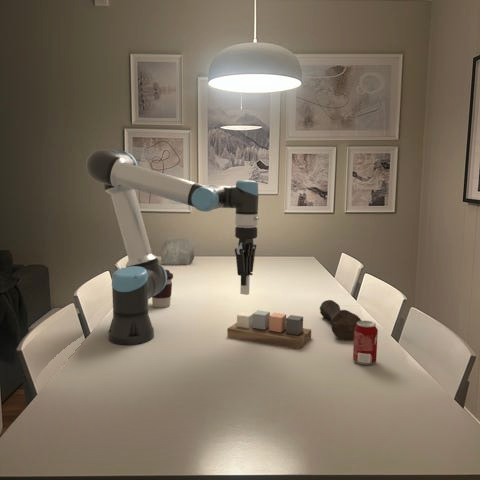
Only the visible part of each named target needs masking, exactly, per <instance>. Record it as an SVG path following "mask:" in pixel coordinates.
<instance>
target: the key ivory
mask: <svg viewBox="0 0 480 480" xmlns="http://www.w3.org/2000/svg"><path fill="white" fill-rule="evenodd" d="M236 323H237V327H244V328H250V327H252V326H253V312H247V311H241V312H240V313H238V314H236Z"/></svg>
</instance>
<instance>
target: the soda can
mask: <svg viewBox="0 0 480 480" xmlns="http://www.w3.org/2000/svg"><path fill="white" fill-rule="evenodd" d="M376 325H377V324H376V323H375V322H374V321H372V320H371V321H370V320H362V321H358V322H357V325H356V326H355V328H354V340H353V348H352V350H353V353H352V354H353V355H352V360H353V361H354V362H355V363H356V364H358V365H361V366H371V365H374V364H376V363H377V357H378V356H377V354H378V353H377V352H378V333H379V331H378V328H377V326H376Z"/></svg>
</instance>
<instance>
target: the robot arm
mask: <svg viewBox="0 0 480 480" xmlns="http://www.w3.org/2000/svg"><path fill="white" fill-rule="evenodd" d="M85 163H86V164H85V169H86V172H87V175H88V177H90V178H91V179H92V181H94V182H96V183H98V184H102V185H103V187H104V191H105V193H106V194H108V195H110V196H111V197H110V198H111V200H112V204H113V208H114V211H115V215H116V218H117V222H118V226H119V230H120V233H121V237H122V240H123V244H124V248H125V252H126V254H127V258H128V261H127V262H126V264H125V267H120V268H118V269H117V270H115V271H114V272H113V274H112V277H111V278H112V279H111V288H112V289H111V291H112V292H111V293H112V296H111V297H112V318H111V319H112V320H111V323H110V326H109V330H108V333H107V334H108V340H109V342H111V343H113V344H117V345H124V346H126V345H139V344H143V343H147V342H149V341H151V340H152V339H153V338H154V337H155V329H154V327H153V324H152V321H151V318H150V315H149V300H150V299H152V297H153V296H155V295H157V294H159V293H160V292H161V291H162V290H163V288H164V287H165V285H166V283H167V273H166V271H165V269H166V268H165V267H164V266H163V265H161V264H160V262H159V259H158V258H159V257H158V256H156V255H155V254H153V253H152V248H151V245H150V241H149V237H148V234H147V230H146V227H145V226H146V225H145V223H144V220H143V219H144V218H143V215H142V212H141V208H140V203H139V200H138V197H137V193H136V191H139V192H143V193H145V194H146V193H147V194H150V195H153V196H157V197H160V198H163V199H166V200H171V201H172V202H177V203H181V204H184V205H187V206H190V207H193V208H195V209H196V210H197V211H200V212H206V213H207V212H210V211H214V210H216V209H235V220H234V222H235V226H236V227H234V229H235V230H234V232H235V233H234V234H235V235H234V237H235V238H236V239H238V245H237V246H238V247H236V248H234V254H235V258H236V260H235V261H236V271H237V276H240V290H239V291H240V293H239V294H241V295H245V296H246V295H247V296H248V295H250V279H251V278H250V276H253V272H254V264H255V255H256V249H257V244H254V239H257V238H258V227H257V226H258V220H259V217H258V216H259V215H258V214H259V213H258V212H259V196H260V195H259V183H258V181H256V180H247V179H246V180H240V179H239V180H236V183H235V185H231V186H230V185H215V184H207V185H205V184H201V183H197V182H194V181H190V180H187V179H184V178H181V177H177V176H173V175H170V174H166V173H162V172H159V171H156V170H152V169H149V168H145V167H142V166H139V165H138V162H137V160H136V158H135V157H134V156H133V155H132V154H131V153H129V152H127V151H124V150H121V149H106V148H100V149H99V148H98V149H96V150H94V151H93V152H91V153H90V154H89V156H88V157H87V159H86V162H85Z"/></svg>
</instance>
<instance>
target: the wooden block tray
mask: <svg viewBox="0 0 480 480" xmlns="http://www.w3.org/2000/svg"><path fill="white" fill-rule="evenodd" d="M226 332H227V333H226V334H227V338H231V339H236V340H243V341H249V342H255V343H262V344H268V345H273V346H280V347H284V348H291V349H297V350H301V348H303V347H304V346H305V345H306V344H307V342H309V341H310V340H311V338H312V329H310V328H305V327H303V331H302V332H301V333H300V334H299V335H295V334H289V333H286V329H285V330H284V331H282V332H276V331H270V330H269V327H268V328H266V329H265V330H263V329H257V328H253V326H252V327H250V328H244V327H237V322H235V323H234V324H232V325H230V326H229V327H227V329H226Z"/></svg>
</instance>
